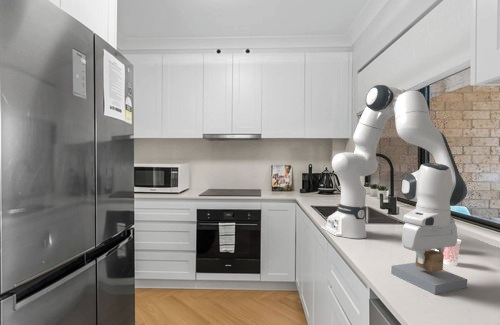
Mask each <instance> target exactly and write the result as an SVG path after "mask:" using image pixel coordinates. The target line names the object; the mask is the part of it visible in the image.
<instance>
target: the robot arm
mask: <svg viewBox="0 0 500 325" xmlns="http://www.w3.org/2000/svg"><path fill="white" fill-rule="evenodd" d="M365 105H366V107H365V108H364V110H363V112H362V114H361V116H360V118H359V120H358V123H357V126H356V128H355V131H354V133H353V135H352V140H353V142H354V143H355V144H354V145H355V148H354V152H350V151H345V152H340V153H337V154H335V155H334V156H333V157H332V161H331V167H332V170H333V171H334V173H335V175H337V177H338V181H339V185H340V202H339V204H336V207H337V209H336V210H335V212H333V213H332V214H330V215H329V216H328V217H327V219H326V224H323V225H321V229H322V230H325V231H326V232H327V233H330V234H331V235H333V236H334V237H335V236H336V237H343V238H347V239H348V238H350V239H365V238H367V237H368V236H367V230H366V229H367V228H366V217H365V216H366V214H367V213H366V212H367V208H366V199H367V198H366V197H367V195H366V194H367V191H366V188H365V187H364V186H363V184H362V181H361V177H368V176H370V175H373V174H375V173H376V171H378V168H379V162H378V160H377V148H378V144H379V142H380V139H381V136H382V134H383V132H384V130H385V127H386V124H387V122H388V120H389V119H390V118H391V117H394V121H395V129H396V133H397V135H398V137H399V138H400V139H401V140H403V141H404V142H406V143H408V144H411V145H413V146H417V147H419V148H421V149H424V150H426V152H429V153H430V154H431V155H432V157H433V160H434V162H426V163H422V164H420V166H419V169H418V170H415V171H414V172H409V173H407V174H406V175H405V176H403V178H402V179H401V181H400V182H401V183H400V192H401V194H402V195H403V197H404V198H405V199H406V200H408V201H412V202H416V204H415V208H414V209H412V210H411V211H409V212H406V213H405V214H404V215H403V218H402V219H403V222H405V223H404V225H403V226H402V231H401V232H402V234H401V244H402V246H403V248H405V249H407V250H409V251H412V252H415V254H417V256H418V263H420V264H426V260H427V258H425V257H424V253H425V250H426V249H431V250H434V251H437V252H440V253H443V252H444V247H453V246H455V245H456V244H457V239H458V227H457V224H456V220H455V219H454V217H453V216H451V214H452V213H451V212H452V211H451V210H452V207H453V206H456V205H458V204H460V203H462V201H464V199H465V198H466V197H467V193H468V187H467V184H466V181H465V180H464V179H463V176H462V175H461V174H460V171H459V169H458V167H457V163H456V161H455V157H454V156H453V152H452V150H451V148H450V145H449V142H448V140H447V138H446V136H445V134H444V133H443V132H441V131H440V130H439V129H438V128H437V127H436V126H435V125H434V123H433V121H432V119H431V114H430V110H429V106H428V103H427V100H426V98H425V96H424V94H423V93H422V92H420V91H418V90H406V89H403V88H400V87H393V86H387V85H385V84H376V85H374V86H371V88H370V89H369V90H368V92H367V94H366V96H365ZM451 206H452V207H451Z"/></svg>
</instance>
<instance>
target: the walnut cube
mask: <svg viewBox="0 0 500 325" xmlns="http://www.w3.org/2000/svg"><path fill="white" fill-rule="evenodd" d="M415 254H416V253H415ZM424 257H425V258H427V260H426V264H420V263H418V256H417V254H416V256H415V263H416V266H418V267H420V268H423V269H425V270H428V271H430V272H435V271H441V270H444V263H443V259H444V254H443V253H440V252H437V251H435V249H426V250H425V253H424Z"/></svg>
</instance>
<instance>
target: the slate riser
mask: <svg viewBox="0 0 500 325" xmlns="http://www.w3.org/2000/svg"><path fill="white" fill-rule="evenodd" d="M390 273H391V275H393V276H396V277H398V278H400V279H402V280H403V281H406V282H409V283H410V284H412V285H414V286H415V287H418V288H421V289H422V290H425V291H426V290H427V292H428V291H429V292H428V293H430V294H432V295H438V294H439V293H440V294H444V293H448V292H454V291H457V289H459V290H463V289H462V288H464V289H468V279H467V278H465V277H462V276H460V275H457V274H454V273H452V272H449V271H447V270H445V269H443V270H441V271H435V272H430V271H428V270H425V269H423V268H420V267H418V266H416V262H409V263H402V264H395V265H391V271H390ZM453 290H454V291H453ZM440 294H439V295H440Z"/></svg>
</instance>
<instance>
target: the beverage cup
mask: <svg viewBox="0 0 500 325" xmlns="http://www.w3.org/2000/svg"><path fill="white" fill-rule="evenodd" d="M461 243H462V239H459V238H457V244H456V245H455V246H453V247H444V252H443V254H444V259H443V265H447V266H450V267H452V266H453V267H456V266H458V260H459V254H460V247H461Z"/></svg>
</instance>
